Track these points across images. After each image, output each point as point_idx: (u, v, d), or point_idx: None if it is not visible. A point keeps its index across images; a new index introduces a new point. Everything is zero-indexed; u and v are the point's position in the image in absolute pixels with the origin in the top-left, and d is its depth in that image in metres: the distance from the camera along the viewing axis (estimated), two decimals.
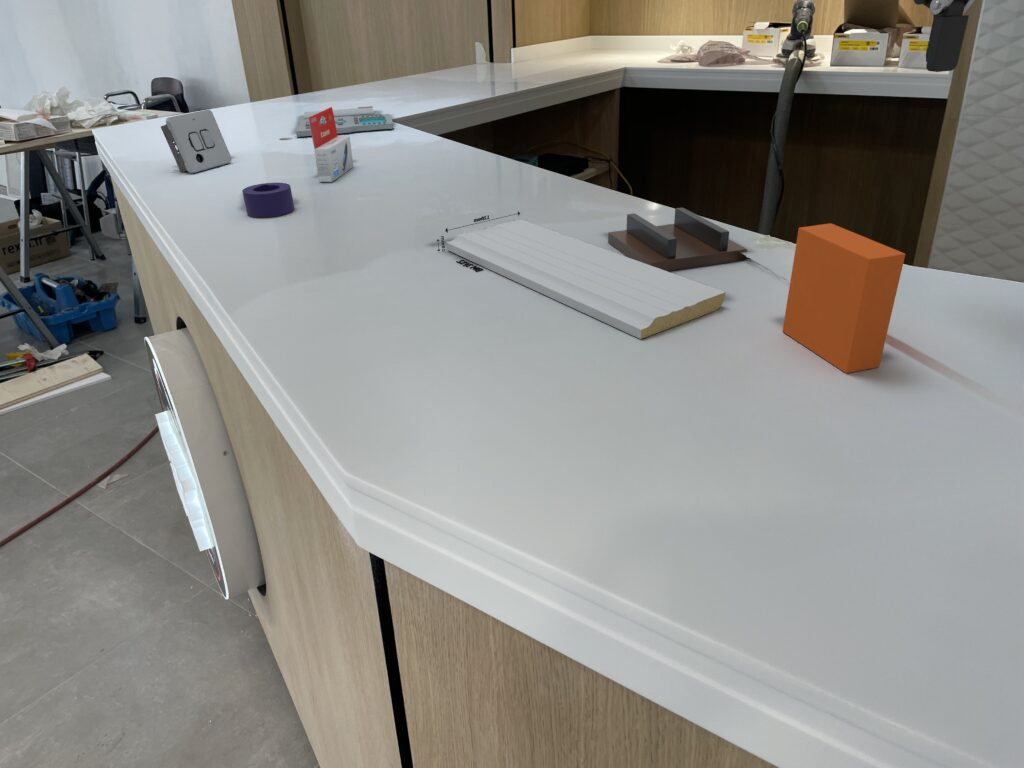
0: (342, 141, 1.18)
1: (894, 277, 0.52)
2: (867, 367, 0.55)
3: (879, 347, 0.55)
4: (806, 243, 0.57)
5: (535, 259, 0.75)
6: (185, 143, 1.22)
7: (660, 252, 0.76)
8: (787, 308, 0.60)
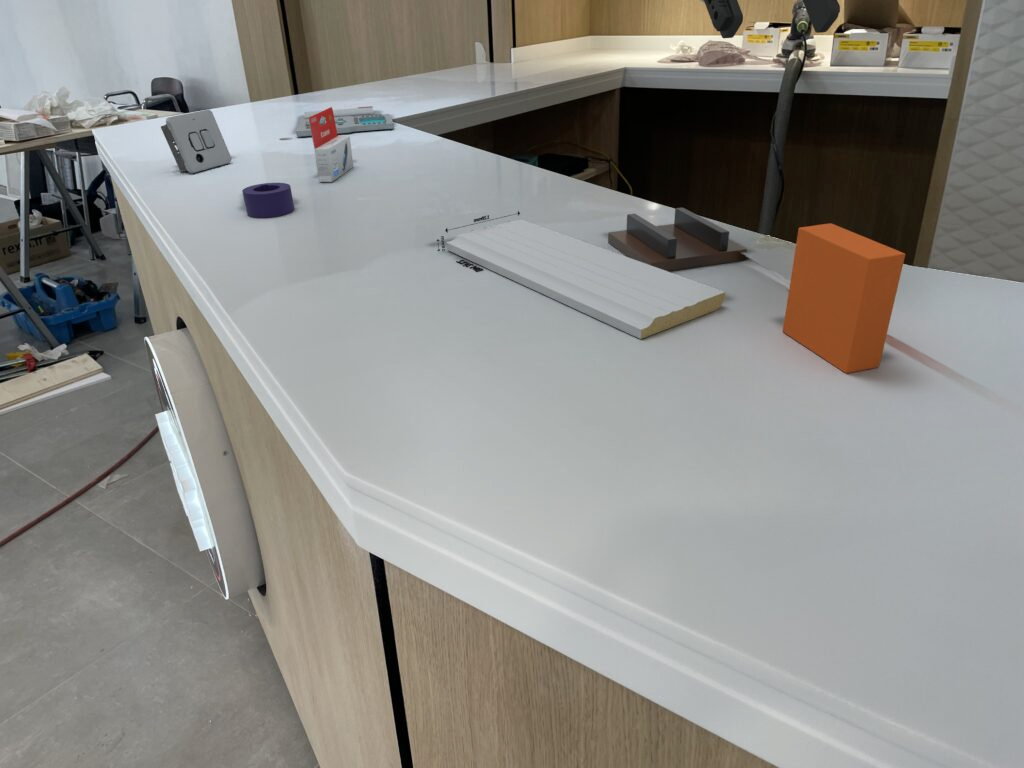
0: (342, 141, 1.18)
1: (894, 277, 0.52)
2: (867, 367, 0.55)
3: (879, 347, 0.55)
4: (806, 243, 0.57)
5: (535, 259, 0.75)
6: (185, 143, 1.22)
7: (660, 252, 0.76)
8: (787, 308, 0.60)
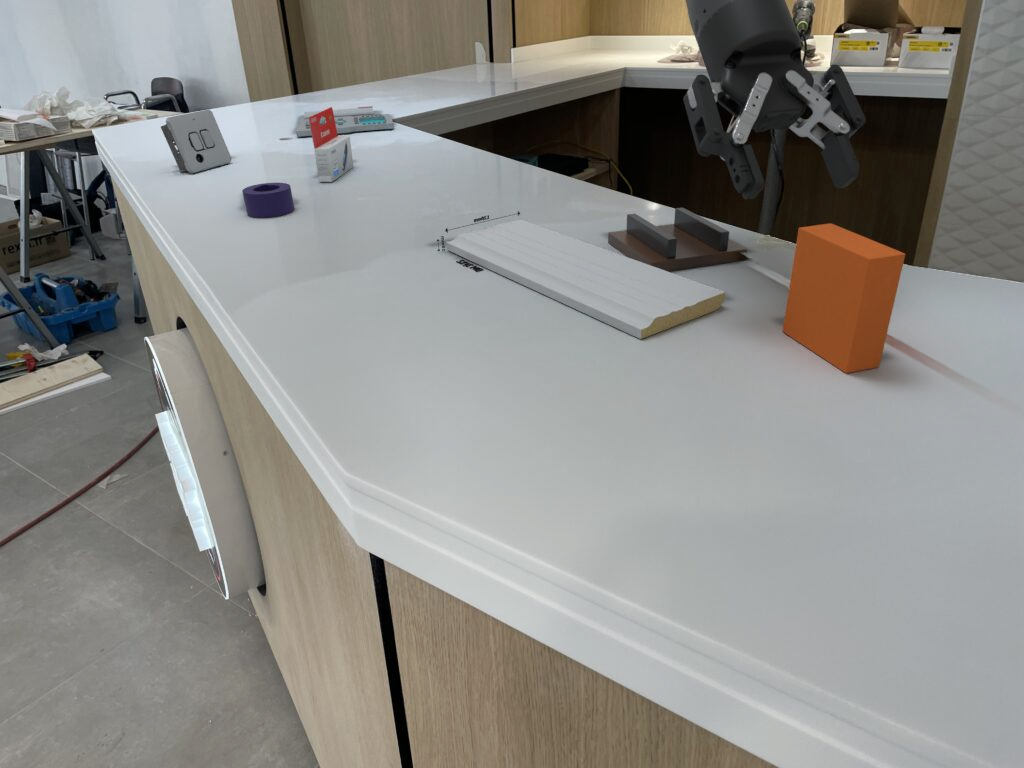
0: (342, 141, 1.18)
1: (894, 277, 0.52)
2: (867, 367, 0.55)
3: (879, 347, 0.55)
4: (806, 243, 0.57)
5: (535, 259, 0.75)
6: (185, 143, 1.22)
7: (660, 252, 0.76)
8: (787, 308, 0.60)
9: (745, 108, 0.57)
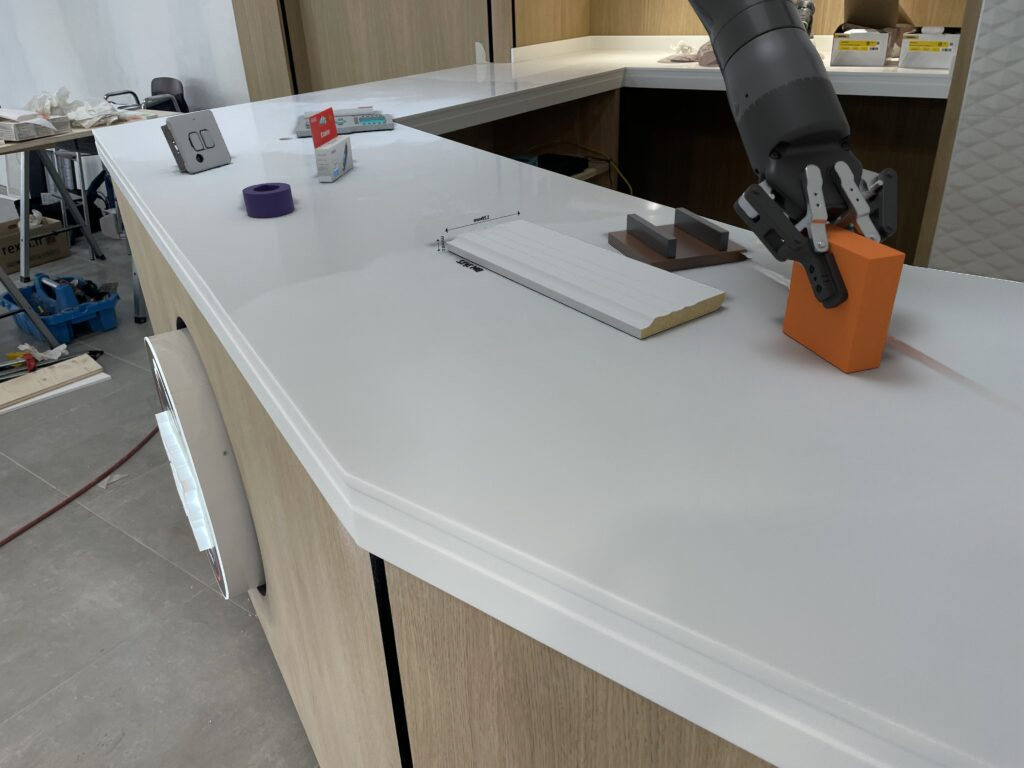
0: (342, 141, 1.18)
1: (894, 277, 0.52)
2: (867, 367, 0.55)
3: (879, 347, 0.55)
4: None
5: (535, 259, 0.75)
6: (185, 143, 1.22)
7: (660, 252, 0.76)
8: (787, 308, 0.60)
9: (813, 212, 0.54)
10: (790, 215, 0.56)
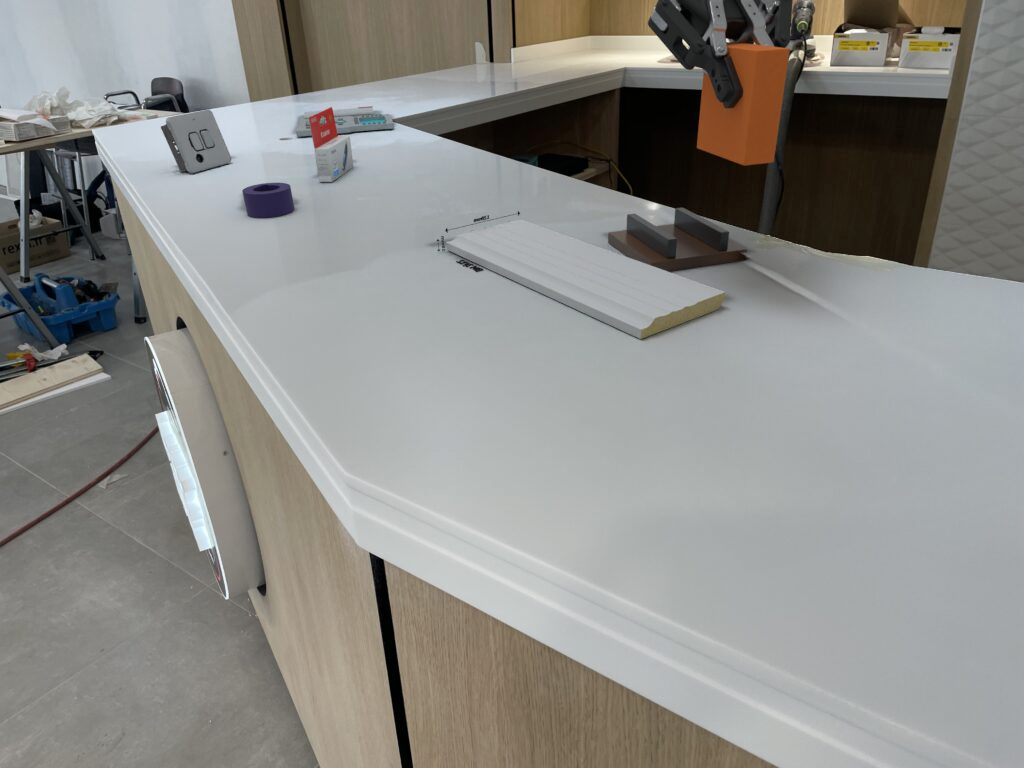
0: (342, 141, 1.18)
1: (781, 71, 0.59)
2: (763, 161, 0.63)
3: (772, 142, 0.62)
4: None
5: (535, 259, 0.75)
6: (185, 143, 1.22)
7: (660, 252, 0.76)
8: (699, 124, 0.68)
9: (714, 21, 0.62)
10: (697, 30, 0.64)
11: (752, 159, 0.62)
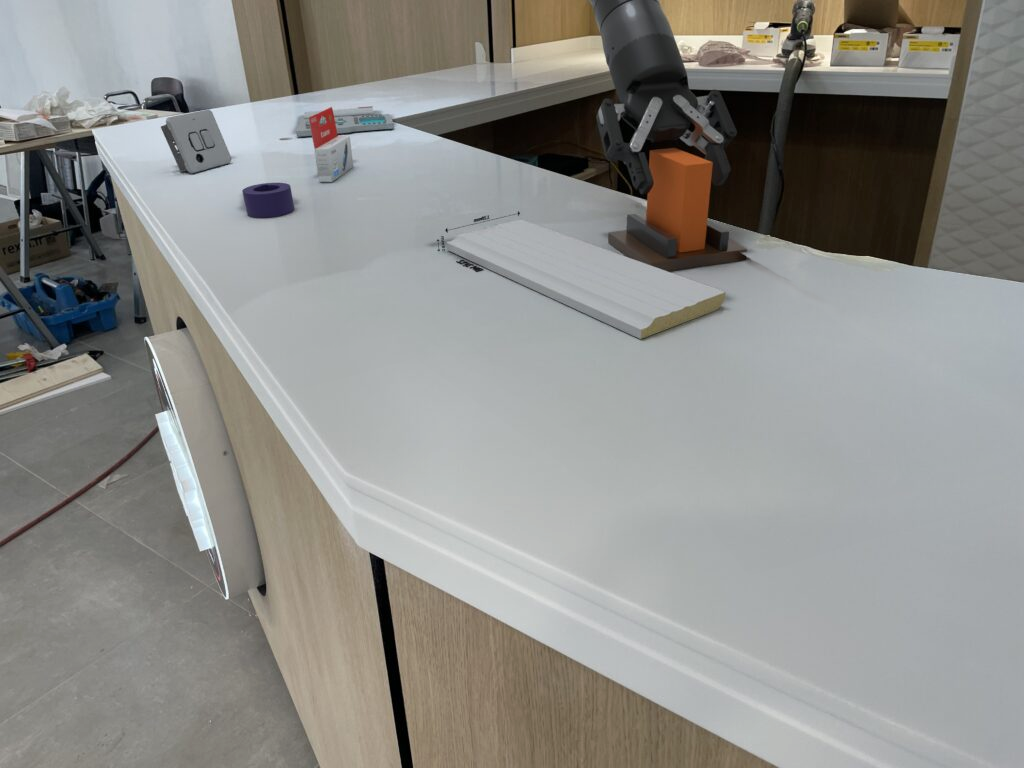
0: (342, 141, 1.18)
1: (706, 179, 0.73)
2: (695, 249, 0.76)
3: (702, 233, 0.76)
4: (654, 161, 0.78)
5: (535, 259, 0.75)
6: (185, 143, 1.22)
7: (660, 252, 0.76)
8: (647, 212, 0.82)
9: (640, 124, 0.75)
10: None
11: (686, 247, 0.76)
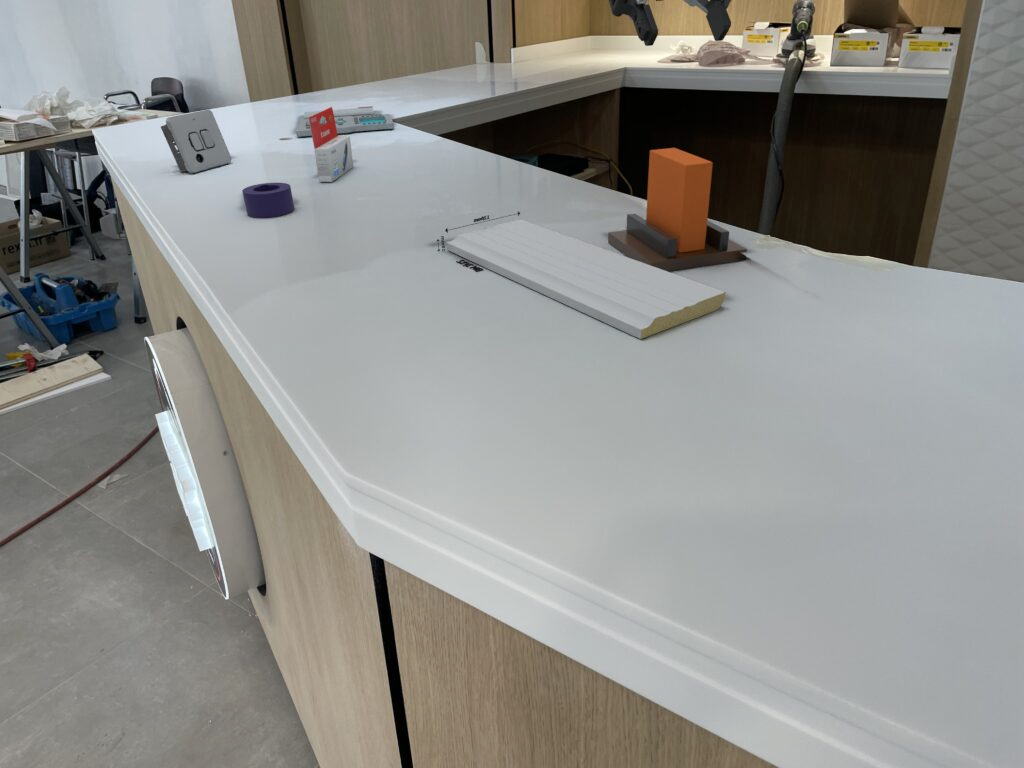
0: (342, 141, 1.18)
1: (706, 179, 0.73)
2: (695, 249, 0.76)
3: (702, 233, 0.76)
4: (654, 161, 0.78)
5: (535, 259, 0.75)
6: (185, 143, 1.22)
7: (660, 252, 0.76)
8: (647, 212, 0.82)
9: None
10: None
11: (686, 247, 0.76)
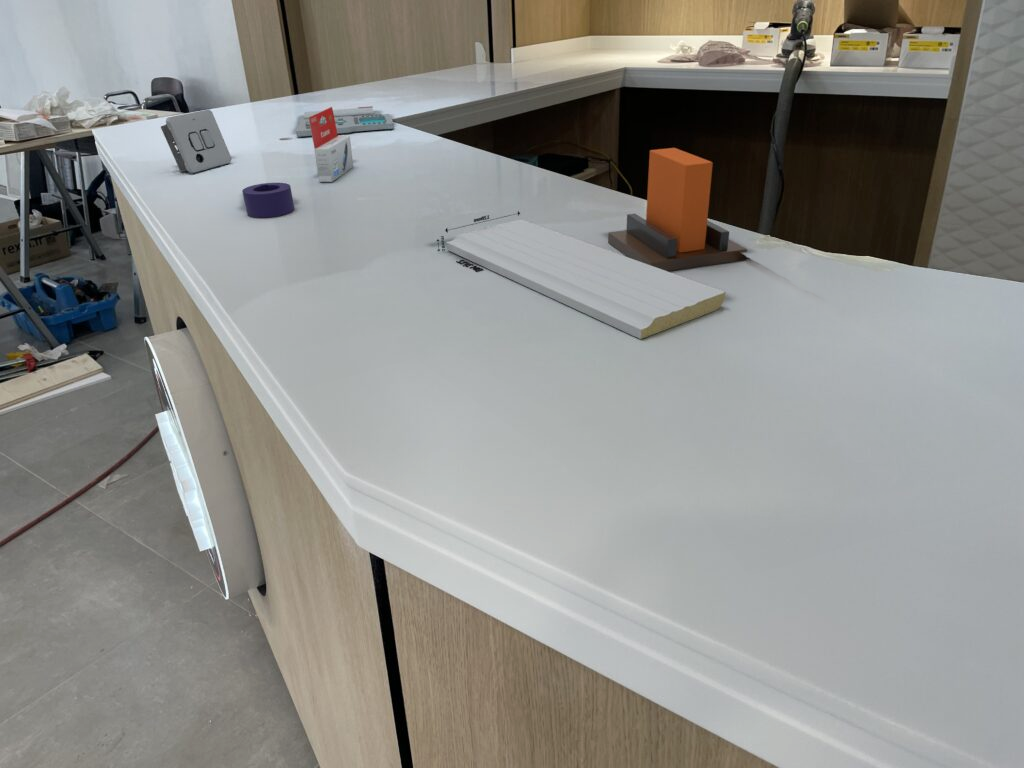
0: (342, 141, 1.18)
1: (706, 179, 0.73)
2: (695, 249, 0.76)
3: (702, 233, 0.76)
4: (654, 161, 0.78)
5: (535, 259, 0.75)
6: (185, 143, 1.22)
7: (660, 252, 0.76)
8: (647, 212, 0.82)
9: None
10: None
11: (686, 247, 0.76)
